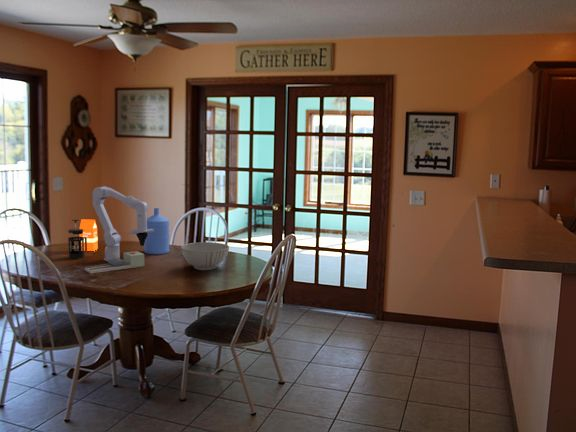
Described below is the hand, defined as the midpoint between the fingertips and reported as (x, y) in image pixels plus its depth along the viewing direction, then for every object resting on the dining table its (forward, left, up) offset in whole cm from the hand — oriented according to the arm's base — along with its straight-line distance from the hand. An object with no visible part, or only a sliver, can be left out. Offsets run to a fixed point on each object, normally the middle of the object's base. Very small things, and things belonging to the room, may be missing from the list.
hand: (142, 245), depth 327 cm
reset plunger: (+5, -8, -7) cm, 11 cm away
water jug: (-21, +20, -10) cm, 31 cm away
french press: (-33, -26, -10) cm, 43 cm away
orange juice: (-49, -13, -10) cm, 52 cm away
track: (+5, -18, -10) cm, 21 cm away
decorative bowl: (+32, +23, -10) cm, 41 cm away
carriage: (+5, -18, -7) cm, 20 cm away
